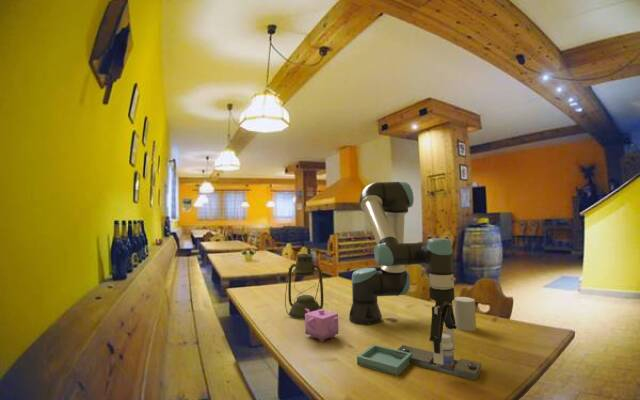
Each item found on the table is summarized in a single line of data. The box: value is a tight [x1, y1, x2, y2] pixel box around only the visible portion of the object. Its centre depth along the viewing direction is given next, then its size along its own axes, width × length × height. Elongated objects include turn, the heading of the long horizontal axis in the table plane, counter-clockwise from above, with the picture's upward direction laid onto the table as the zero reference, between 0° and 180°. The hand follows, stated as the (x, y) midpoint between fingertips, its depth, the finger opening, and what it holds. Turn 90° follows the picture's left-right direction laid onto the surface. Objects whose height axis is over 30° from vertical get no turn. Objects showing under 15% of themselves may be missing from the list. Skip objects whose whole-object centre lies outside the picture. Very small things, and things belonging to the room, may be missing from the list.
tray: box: [356, 344, 412, 377], centre depth 105 cm, size 14×12×2 cm
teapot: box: [304, 308, 340, 343], centre depth 129 cm, size 15×13×11 cm
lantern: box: [284, 253, 324, 320], centre depth 162 cm, size 21×18×30 cm
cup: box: [453, 296, 477, 332], centre depth 136 cm, size 8×8×12 cm
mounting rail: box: [393, 344, 482, 382], centre depth 103 cm, size 26×8×3 cm, turn 53°
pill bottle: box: [435, 332, 455, 370], centre depth 101 cm, size 5×5×10 cm
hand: (444, 355), depth 101 cm, fingers open, 12 cm apart
